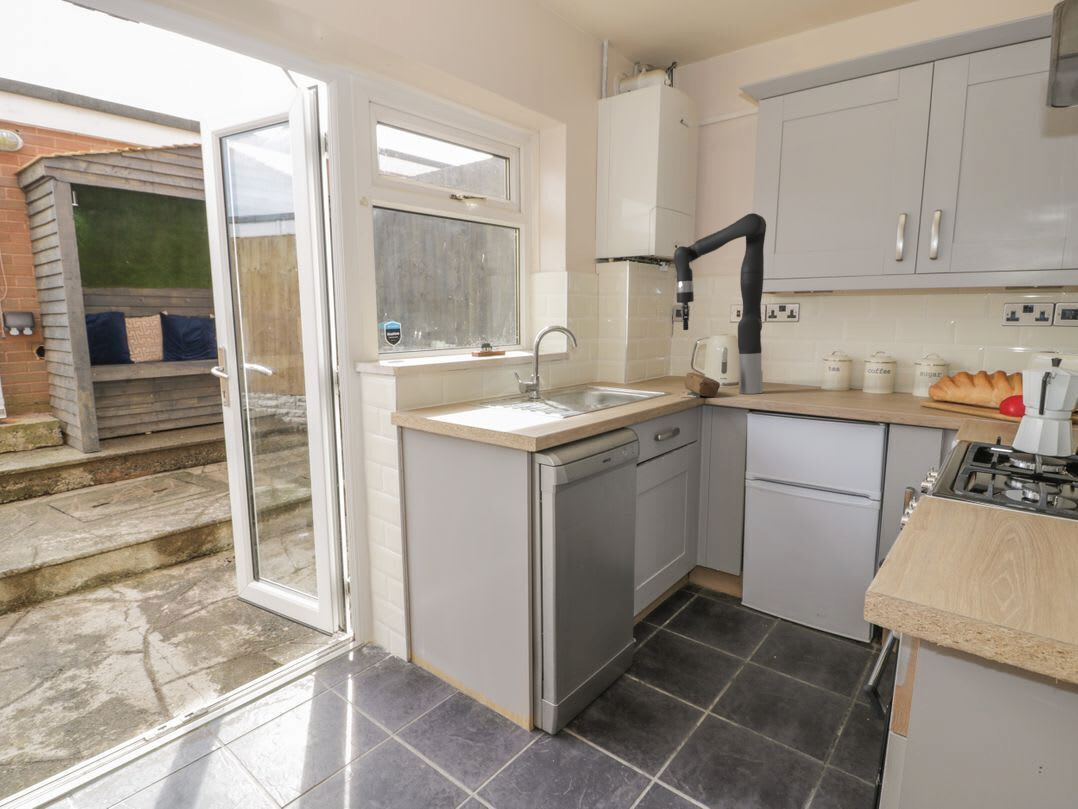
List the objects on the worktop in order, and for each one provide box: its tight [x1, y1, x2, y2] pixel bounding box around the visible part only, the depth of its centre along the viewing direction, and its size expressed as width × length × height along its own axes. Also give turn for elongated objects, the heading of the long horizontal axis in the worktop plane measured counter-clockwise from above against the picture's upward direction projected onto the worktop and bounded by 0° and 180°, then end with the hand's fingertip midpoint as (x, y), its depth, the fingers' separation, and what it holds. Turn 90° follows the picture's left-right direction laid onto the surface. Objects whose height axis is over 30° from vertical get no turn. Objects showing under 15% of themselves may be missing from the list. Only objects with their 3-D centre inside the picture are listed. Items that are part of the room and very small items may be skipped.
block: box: [683, 372, 721, 398], centre depth 253 cm, size 11×8×20 cm
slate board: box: [686, 391, 701, 398], centre depth 253 cm, size 8×12×1 cm, turn 169°
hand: (685, 330), depth 267 cm, fingers closed
